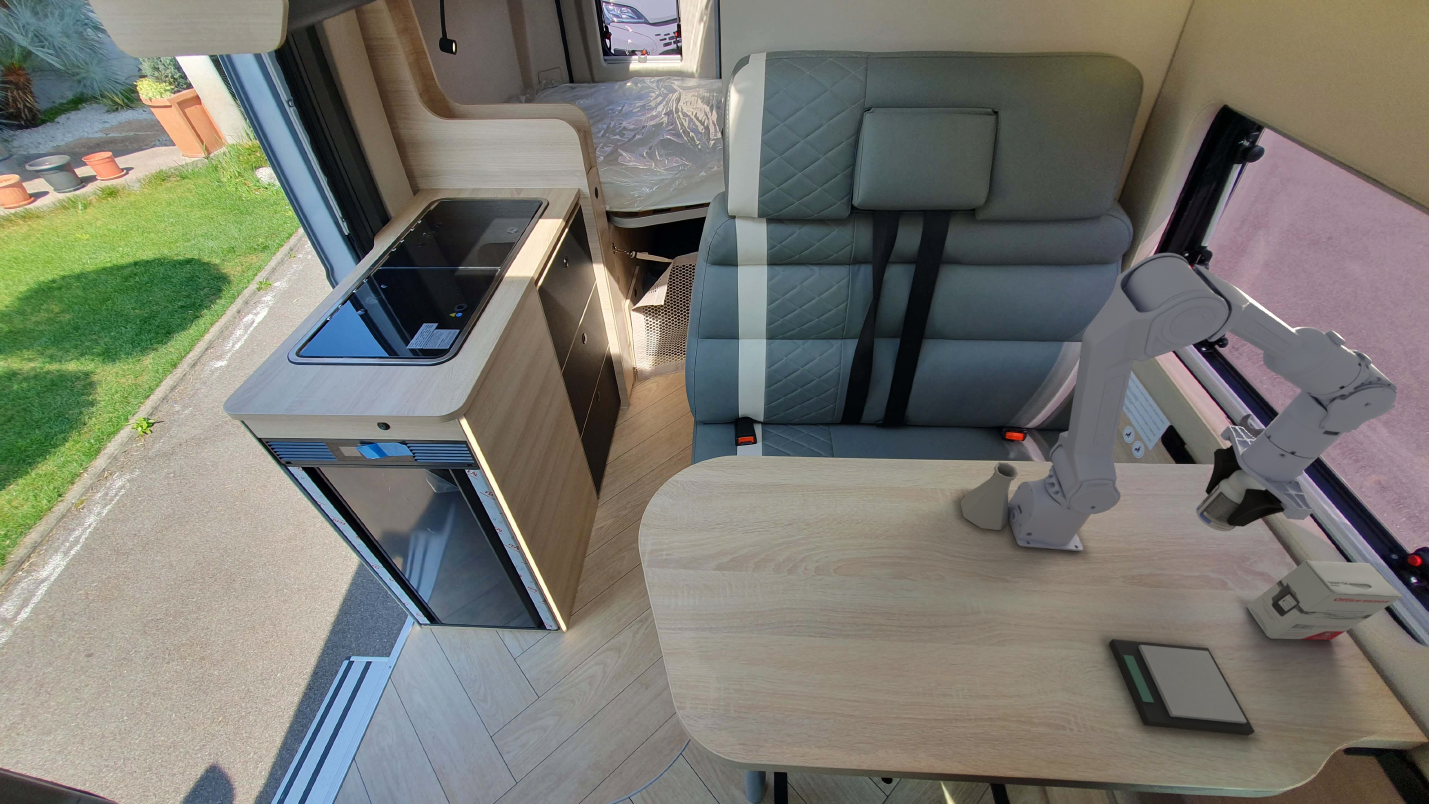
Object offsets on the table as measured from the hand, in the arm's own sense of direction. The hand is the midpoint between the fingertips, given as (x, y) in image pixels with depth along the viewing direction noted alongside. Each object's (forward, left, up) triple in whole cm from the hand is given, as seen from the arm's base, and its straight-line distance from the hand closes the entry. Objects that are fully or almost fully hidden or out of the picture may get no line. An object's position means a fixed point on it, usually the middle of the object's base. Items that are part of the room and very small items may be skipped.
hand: (1224, 508), depth 81 cm
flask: (-29, +3, -10) cm, 31 cm away
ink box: (+8, -11, -10) cm, 17 cm away
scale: (-12, -22, -9) cm, 27 cm away
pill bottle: (0, 0, -3) cm, 3 cm away
